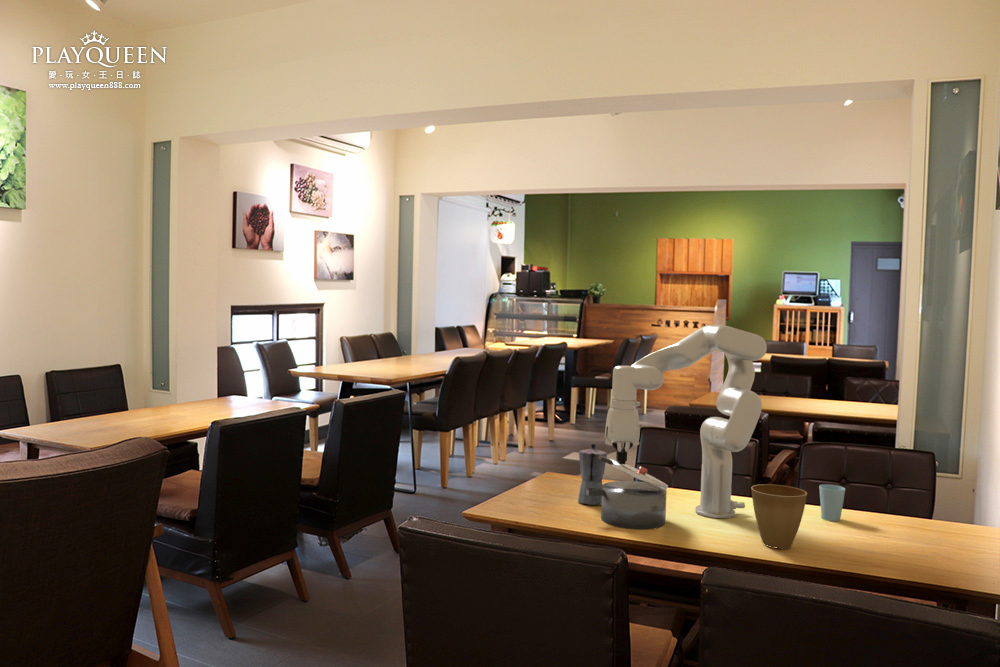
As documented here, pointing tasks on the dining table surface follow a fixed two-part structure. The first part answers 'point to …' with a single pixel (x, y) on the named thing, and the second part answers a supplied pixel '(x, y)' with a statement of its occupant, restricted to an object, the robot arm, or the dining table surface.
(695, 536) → the dining table surface
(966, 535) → the dining table surface
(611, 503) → the cooker pot
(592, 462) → the moka pot
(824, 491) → the cup
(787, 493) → the plant pot
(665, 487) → the cooker lid
